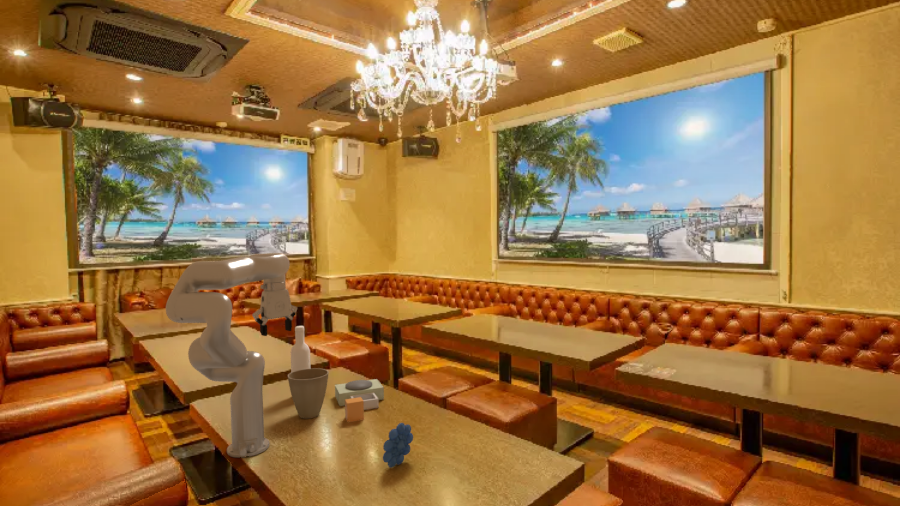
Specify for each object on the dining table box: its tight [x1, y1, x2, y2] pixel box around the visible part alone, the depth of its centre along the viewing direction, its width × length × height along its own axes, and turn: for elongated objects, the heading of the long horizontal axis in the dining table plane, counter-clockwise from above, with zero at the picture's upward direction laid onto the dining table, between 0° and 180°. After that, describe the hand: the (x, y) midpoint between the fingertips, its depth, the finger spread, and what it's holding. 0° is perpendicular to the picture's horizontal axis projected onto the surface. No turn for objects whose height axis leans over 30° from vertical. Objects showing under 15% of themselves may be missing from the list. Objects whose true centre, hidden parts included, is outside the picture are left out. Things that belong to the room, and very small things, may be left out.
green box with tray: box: [334, 378, 385, 411], centre depth 190 cm, size 20×18×6 cm
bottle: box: [290, 325, 311, 373], centre depth 196 cm, size 8×8×30 cm
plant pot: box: [287, 367, 329, 420], centre depth 176 cm, size 15×15×16 cm
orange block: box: [344, 397, 365, 423], centre depth 172 cm, size 4×6×7 cm
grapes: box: [382, 422, 414, 468], centre depth 138 cm, size 12×7×12 cm, turn 140°
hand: (276, 333), depth 170 cm, fingers open, 9 cm apart
